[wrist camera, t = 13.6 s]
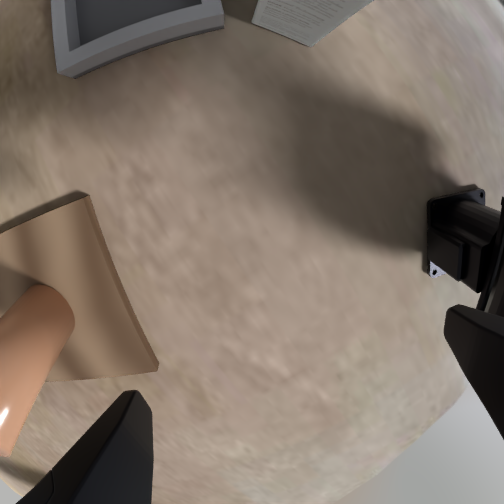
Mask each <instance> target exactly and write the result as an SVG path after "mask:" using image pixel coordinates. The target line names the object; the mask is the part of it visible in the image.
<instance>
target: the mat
mask: <svg viewBox="0 0 504 504" xmlns="http://www.w3.org/2000/svg"><path fill="white" fill-rule="evenodd" d="M36 284H41V285H46V286H49V287H51V288H53V289H54V290H56V291H57V292H58V293H60V294H61V295H62V296H63V297H64V298H65V299H66V301H67V302H68V304H69V305H70V307H71V309H72V311H73V314H74V317H75V328H74V331H73V333H72V334H71V336H70V338H69V339H68V341H67V343H66V344H65V346H64V348H63V350H62V351H61V353H60V355H59V357H58V358H57V360H56V362H55V364H54V366H53V367H52V369H51V371H50V373H49V375H48V377H47V379H46V380H45V382H53V381H70V380H84V379H96V378H106V377H116V376H125V375H133V374H141V373H148V372H155V371H157V370H158V366H159V362H158V360H157V358H156V356H155V354H154V352H153V350H152V348H151V346H150V344H149V342H148V340H147V338H146V336H145V334H144V332H143V330H142V328H141V326H140V324H139V322H138V320H137V317H136V315H135V313H134V311H133V309H132V306H131V304H130V302H129V300H128V297H127V295H126V293H125V290H124V288H123V286H122V283H121V281H120V279H119V276H118V274H117V271H116V269H115V266H114V264H113V261H112V259H111V256H110V253H109V251H108V248H107V245H106V243H105V240H104V237H103V234H102V232H101V229H100V226H99V223H98V220H97V217H96V214H95V211H94V208H93V205H92V202H91V199H90V195H89V196H86V197H83V198H81V199H78V200H76V201H73V202H71V203H68V204H66V205H63V206H61V207H58V208H56V209H53V210H51V211H49V212H46V213H44V214H42V215H39V216H37V217H35V218H32V219H30V220H28V221H26V222H23V223H21V224H19V225H17V226H15V227H13V228H11V229H8V230H6V231H4V232H2V233H0V318H1V317H2V316H3V315H4V313H5V312H6V311H7V310H8V309H9V308H10V307H11V306H12V305H13V304H14V303H15V301H16V300H17V299H18V298H19V297H20V296H21V295H22V294H23V293H24V292H25V291H26V290H27V289H28V288H29V287H30V286H32V285H36Z"/></svg>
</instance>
